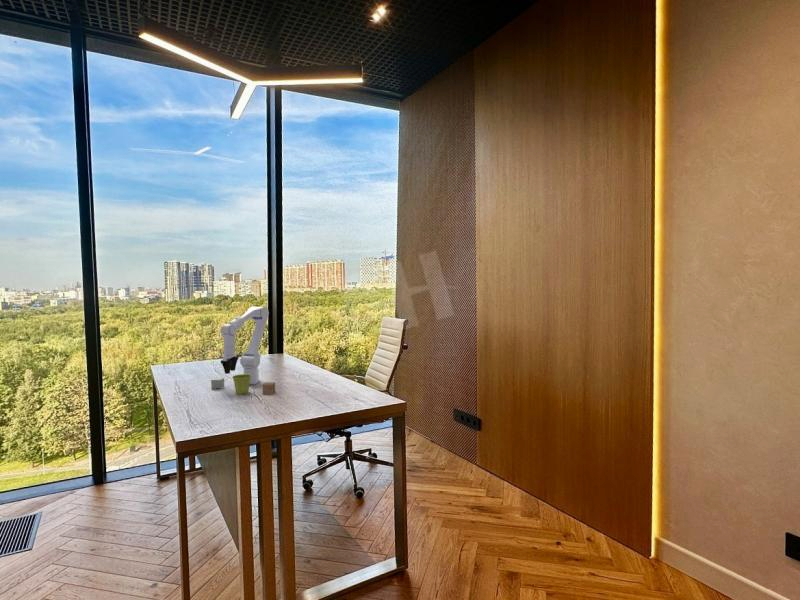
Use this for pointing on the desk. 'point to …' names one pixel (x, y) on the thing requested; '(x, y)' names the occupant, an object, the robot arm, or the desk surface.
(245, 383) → the plant pot
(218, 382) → the slate block
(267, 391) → the walnut block
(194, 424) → the desk surface
